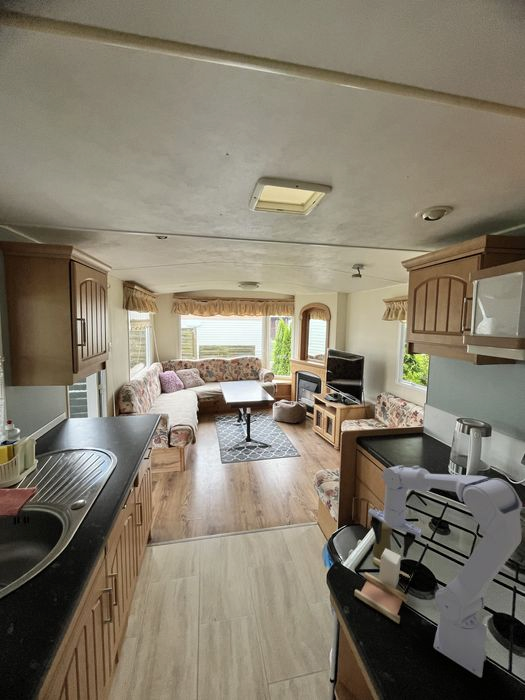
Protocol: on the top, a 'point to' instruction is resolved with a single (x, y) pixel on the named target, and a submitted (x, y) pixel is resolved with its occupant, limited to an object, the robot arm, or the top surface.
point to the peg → (390, 568)
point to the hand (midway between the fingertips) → (391, 548)
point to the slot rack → (382, 595)
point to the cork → (383, 541)
